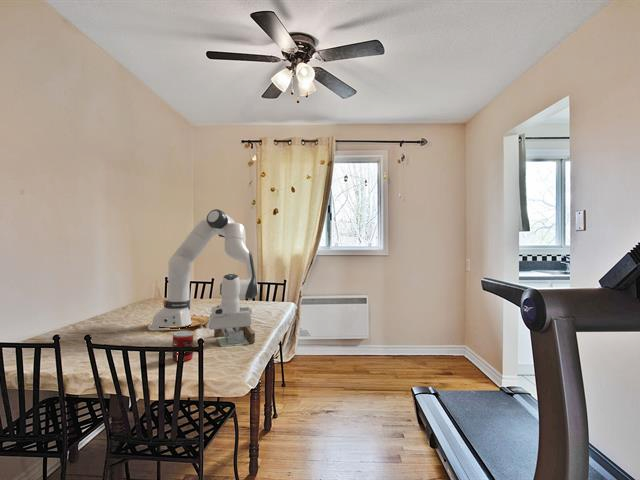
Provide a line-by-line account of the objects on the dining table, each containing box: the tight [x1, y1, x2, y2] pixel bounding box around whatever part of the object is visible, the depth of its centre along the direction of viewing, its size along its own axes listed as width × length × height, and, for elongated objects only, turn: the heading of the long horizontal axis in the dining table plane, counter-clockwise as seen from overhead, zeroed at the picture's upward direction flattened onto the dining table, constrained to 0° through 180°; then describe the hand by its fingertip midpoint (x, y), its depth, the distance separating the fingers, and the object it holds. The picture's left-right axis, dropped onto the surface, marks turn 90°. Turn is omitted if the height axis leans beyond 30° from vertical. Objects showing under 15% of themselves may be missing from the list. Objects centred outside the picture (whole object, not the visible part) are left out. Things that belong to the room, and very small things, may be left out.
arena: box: [213, 325, 256, 345], centre depth 179 cm, size 18×18×5 cm
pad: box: [216, 336, 250, 348], centre depth 177 cm, size 13×14×1 cm
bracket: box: [225, 328, 245, 344], centre depth 177 cm, size 11×7×5 cm, turn 23°
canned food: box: [172, 330, 194, 363], centre depth 151 cm, size 8×8×11 cm
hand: (230, 336), depth 176 cm, fingers closed on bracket, 3 cm apart
